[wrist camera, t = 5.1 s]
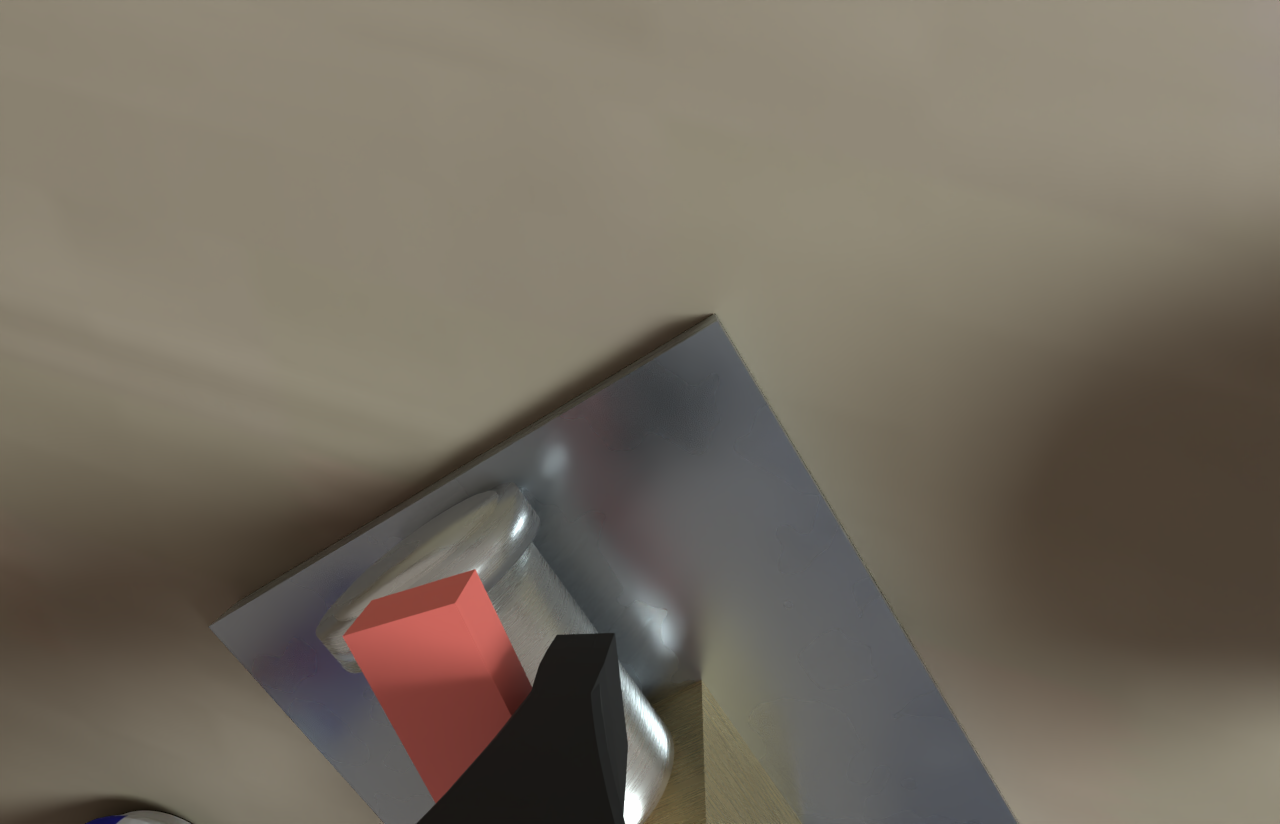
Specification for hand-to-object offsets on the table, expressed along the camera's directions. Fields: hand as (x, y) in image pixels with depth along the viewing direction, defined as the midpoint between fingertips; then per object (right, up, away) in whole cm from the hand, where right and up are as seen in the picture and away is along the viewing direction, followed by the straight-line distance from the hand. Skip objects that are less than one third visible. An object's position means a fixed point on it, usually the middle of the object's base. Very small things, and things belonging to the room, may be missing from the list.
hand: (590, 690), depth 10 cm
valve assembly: (+1, -5, +7) cm, 9 cm away
